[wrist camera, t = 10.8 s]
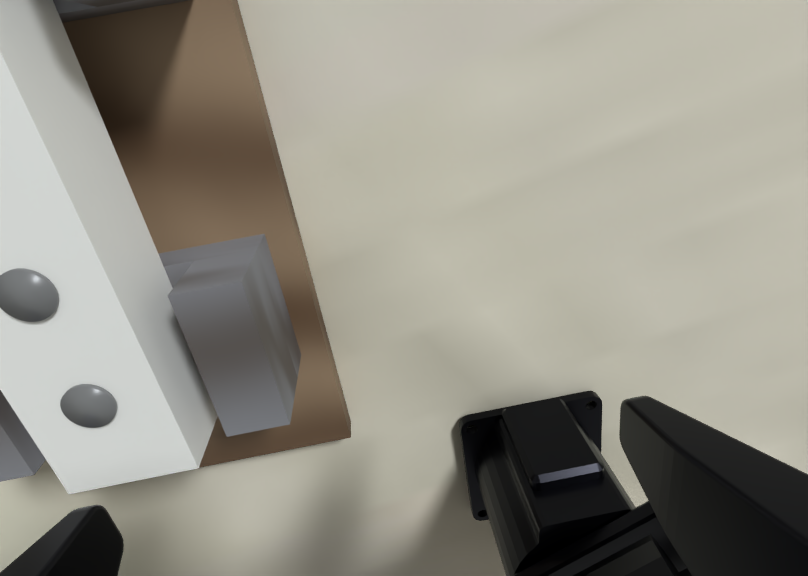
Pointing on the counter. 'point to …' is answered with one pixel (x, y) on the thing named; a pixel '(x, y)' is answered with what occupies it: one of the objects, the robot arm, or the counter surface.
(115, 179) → the white bar
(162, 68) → the cradle board
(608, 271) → the counter surface
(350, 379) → the counter surface
